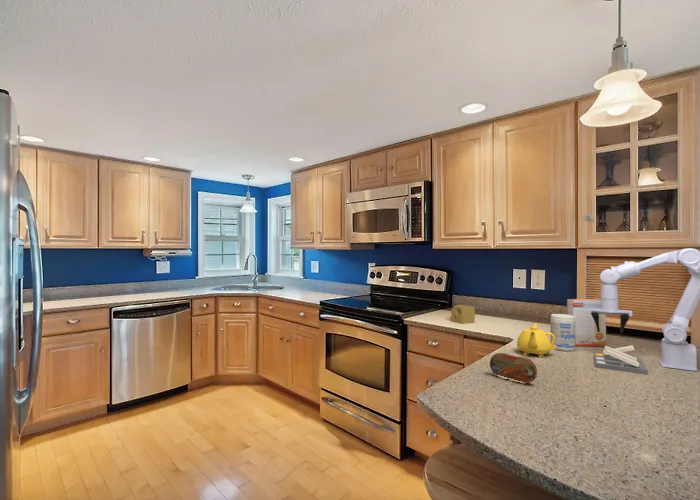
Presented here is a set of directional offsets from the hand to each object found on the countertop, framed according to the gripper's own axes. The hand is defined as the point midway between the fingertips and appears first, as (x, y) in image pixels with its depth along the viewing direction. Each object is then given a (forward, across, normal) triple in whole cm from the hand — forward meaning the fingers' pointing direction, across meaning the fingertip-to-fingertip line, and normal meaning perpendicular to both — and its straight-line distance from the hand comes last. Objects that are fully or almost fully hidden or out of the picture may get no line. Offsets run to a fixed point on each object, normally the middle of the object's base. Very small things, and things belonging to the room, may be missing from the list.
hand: (609, 332), depth 147 cm
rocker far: (+6, +2, -5) cm, 8 cm away
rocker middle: (+6, +2, -11) cm, 13 cm away
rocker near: (+6, +2, -17) cm, 18 cm away
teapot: (+10, -26, -10) cm, 30 cm away
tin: (+10, -30, -49) cm, 58 cm away
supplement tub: (+10, -17, +5) cm, 20 cm away
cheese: (+10, -70, +46) cm, 84 cm away
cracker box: (+10, -7, +18) cm, 22 cm away
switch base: (+10, +2, -11) cm, 15 cm away
